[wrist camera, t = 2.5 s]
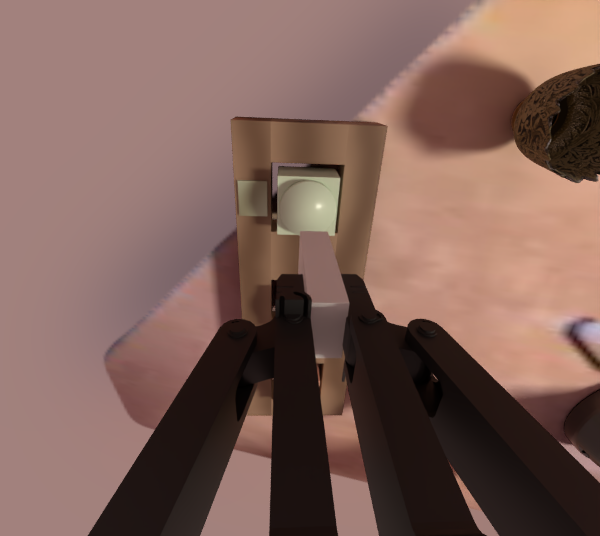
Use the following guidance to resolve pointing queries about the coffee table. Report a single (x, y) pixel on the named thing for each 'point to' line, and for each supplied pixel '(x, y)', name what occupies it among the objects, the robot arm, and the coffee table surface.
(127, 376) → the coffee table surface
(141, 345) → the coffee table surface
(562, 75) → the cup
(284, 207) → the sage button
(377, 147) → the walnut panel
